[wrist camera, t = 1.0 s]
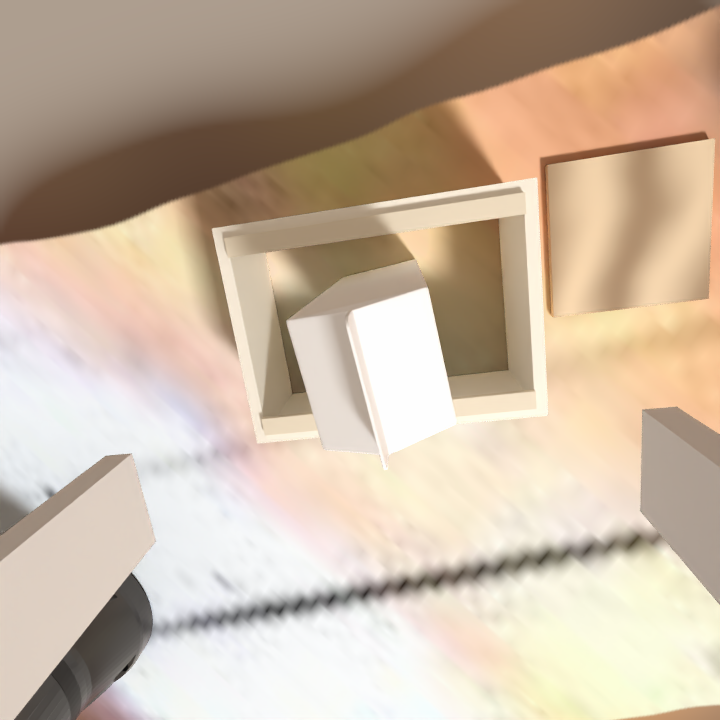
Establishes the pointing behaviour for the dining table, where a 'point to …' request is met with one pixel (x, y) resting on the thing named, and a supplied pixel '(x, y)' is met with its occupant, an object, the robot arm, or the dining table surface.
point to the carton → (503, 201)
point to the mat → (630, 228)
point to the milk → (373, 362)
